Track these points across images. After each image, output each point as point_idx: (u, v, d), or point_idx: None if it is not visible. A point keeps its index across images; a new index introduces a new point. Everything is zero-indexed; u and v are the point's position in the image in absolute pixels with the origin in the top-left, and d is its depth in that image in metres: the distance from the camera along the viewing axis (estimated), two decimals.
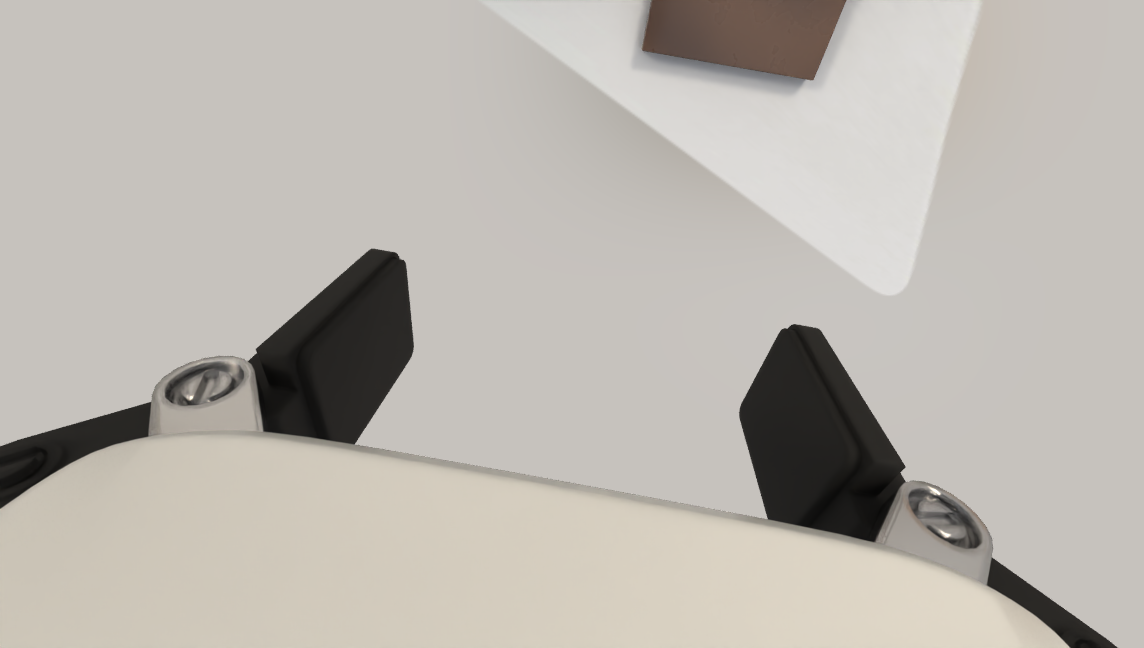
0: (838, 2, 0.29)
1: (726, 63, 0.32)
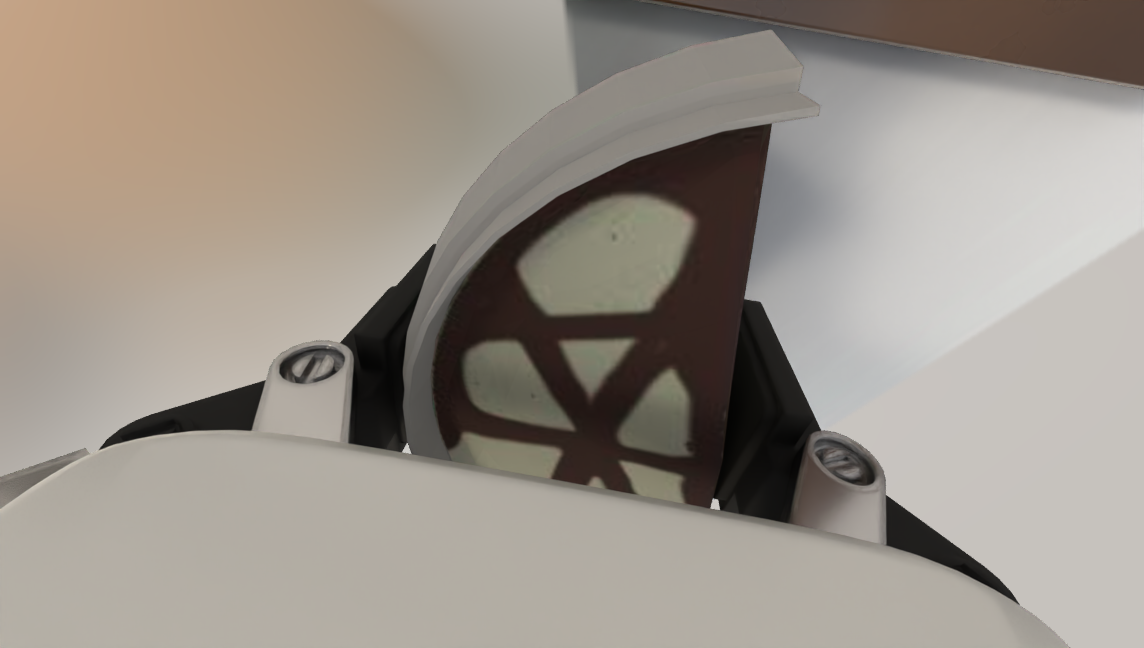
0: None
1: None
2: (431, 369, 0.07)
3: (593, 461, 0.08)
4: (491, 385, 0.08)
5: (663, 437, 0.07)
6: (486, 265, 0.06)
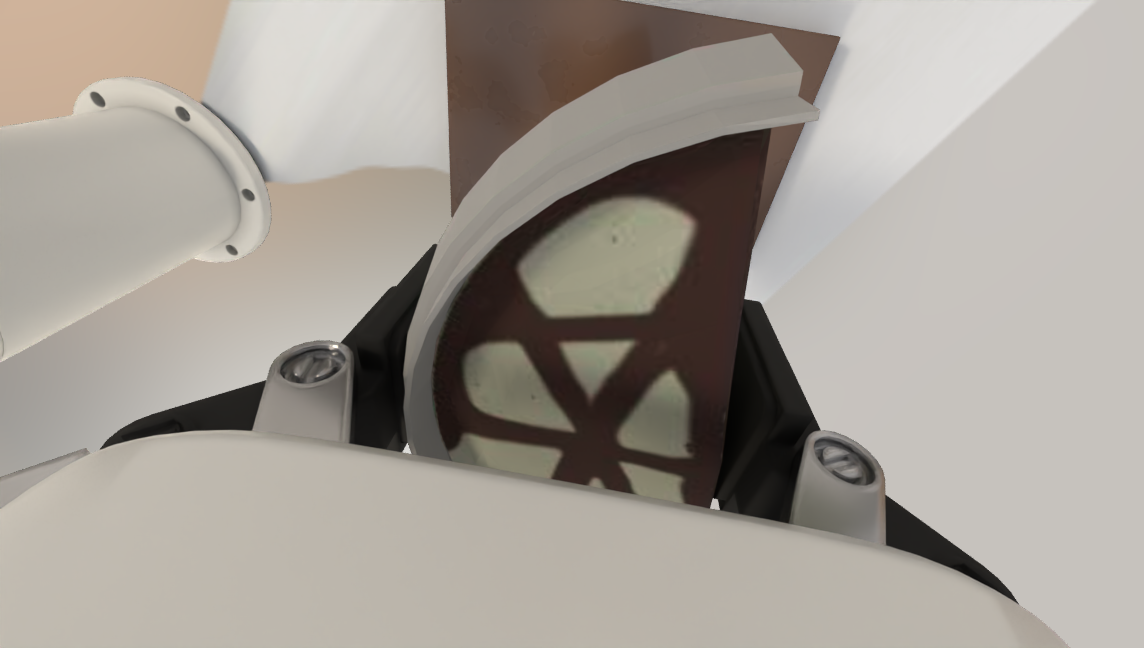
0: (744, 32, 0.22)
1: (783, 171, 0.25)
2: (431, 370, 0.07)
3: (592, 462, 0.08)
4: (491, 386, 0.08)
5: (662, 438, 0.07)
6: (486, 266, 0.06)
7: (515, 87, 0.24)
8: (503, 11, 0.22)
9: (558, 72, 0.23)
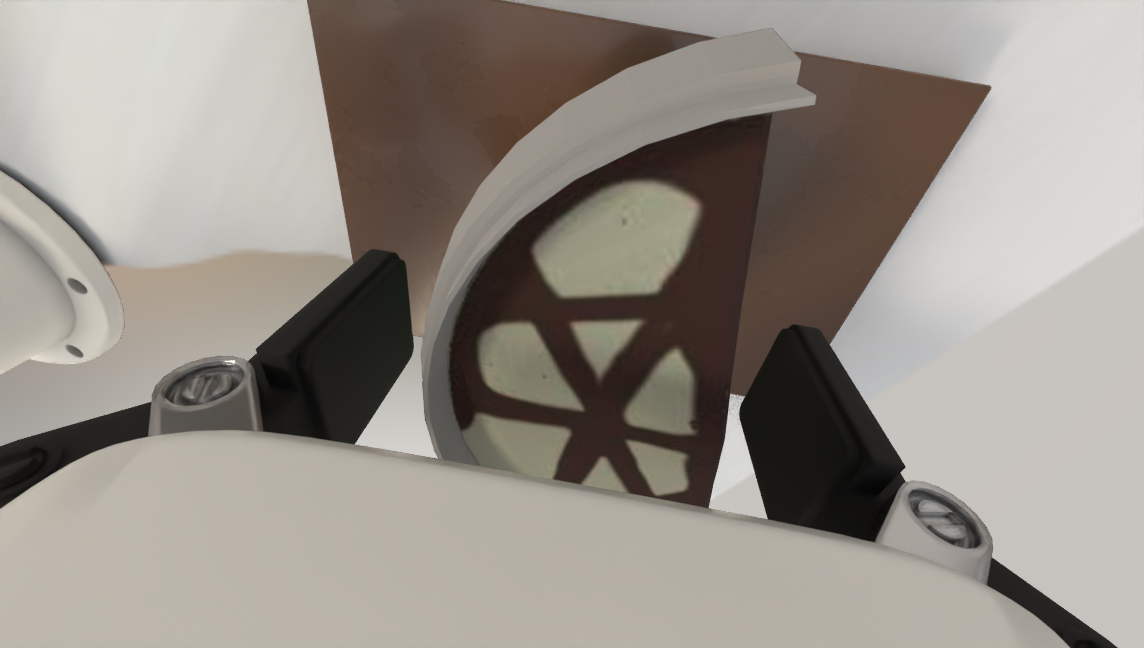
0: (822, 76, 0.12)
1: (864, 286, 0.16)
2: (448, 350, 0.08)
3: (600, 441, 0.09)
4: (504, 366, 0.08)
5: (668, 415, 0.08)
6: (503, 248, 0.06)
7: (439, 154, 0.15)
8: (408, 35, 0.13)
9: (506, 134, 0.14)
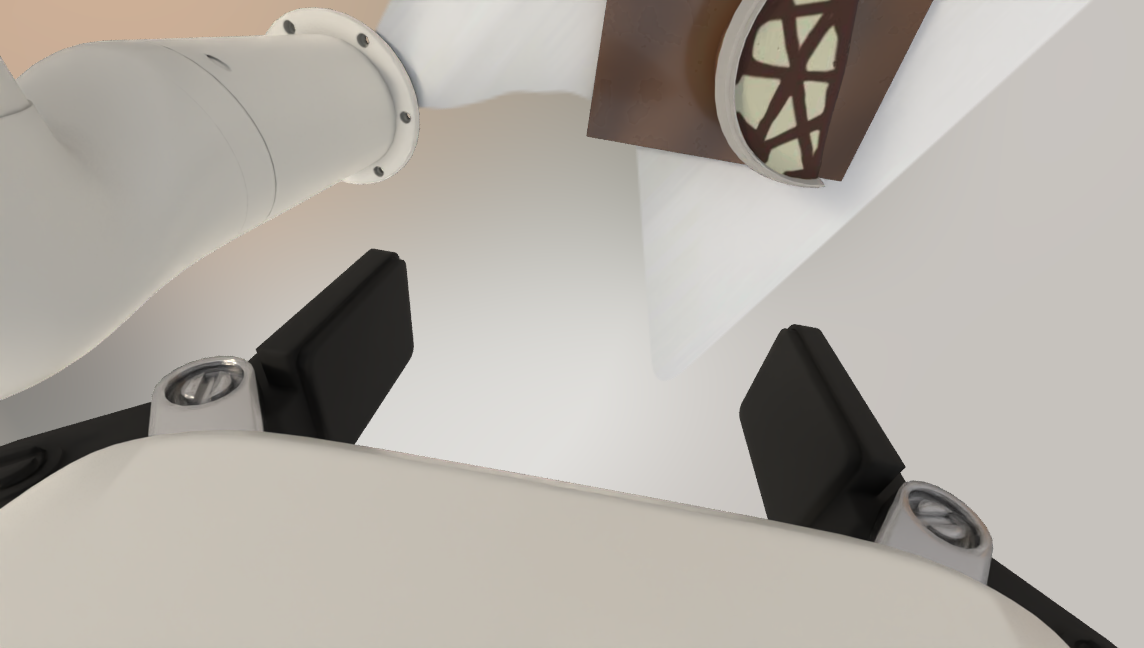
0: None
1: (886, 88, 0.29)
2: None
3: (791, 85, 0.22)
4: (763, 44, 0.21)
5: (824, 61, 0.21)
6: None
7: (664, 12, 0.28)
8: None
9: None
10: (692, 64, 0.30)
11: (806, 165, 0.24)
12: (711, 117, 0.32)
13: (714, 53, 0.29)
